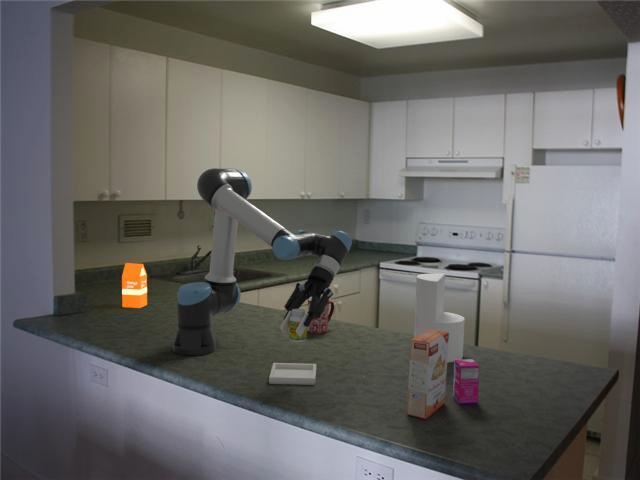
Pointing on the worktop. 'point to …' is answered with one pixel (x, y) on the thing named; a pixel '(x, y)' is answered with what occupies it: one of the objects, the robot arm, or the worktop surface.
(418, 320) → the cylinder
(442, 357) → the cracker box
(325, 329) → the mug
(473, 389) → the supplement box
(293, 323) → the supplement bottle
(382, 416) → the worktop surface
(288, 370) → the tray
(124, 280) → the orange juice
